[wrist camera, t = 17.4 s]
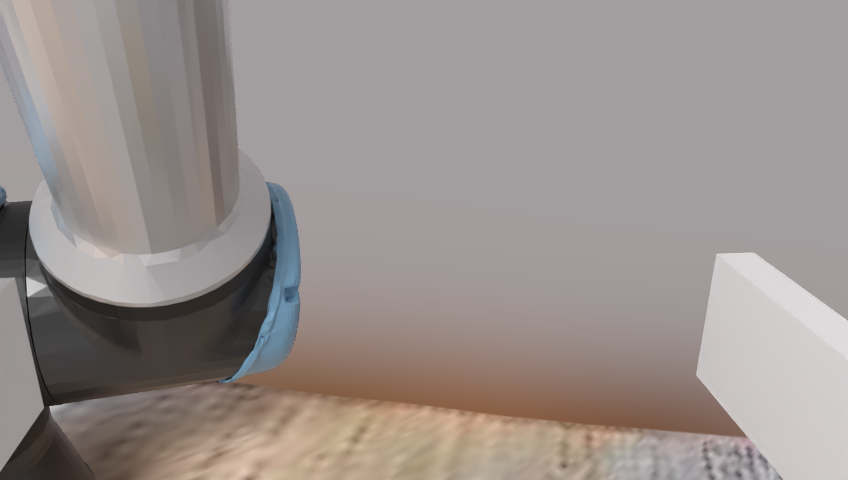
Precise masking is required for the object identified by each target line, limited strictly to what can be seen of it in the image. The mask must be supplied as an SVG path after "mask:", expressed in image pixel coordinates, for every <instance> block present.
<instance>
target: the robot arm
mask: <svg viewBox="0 0 848 480" xmlns="http://www.w3.org/2000/svg"><path fill="white" fill-rule="evenodd" d="M0 64H1V67H2V70H3V72H4V75H5V77H6V80H7V82H8V85H9V88H10V90H11V93H12V95H13V98H14V100H15V103H16V105H17V108H18V110H19V113H20V116H21V118H22V121H23V123H24V126H25V129H26V131H27V134H28V136H29V139H30V142H31V144H32V147H33V149H34V152H35V154H36V157H37V160H38V162H39V165H40V167H41V170H42V172H43V175H44V179H43V181H42V182H41V184H40V185H39V187H38V189H37V191H36V193H35V195H34V199H33V201H23V202H7V201H6V198H7V196H6V191H5V189H4V188H3V187H1V186H0V480H96V479H95V477H94V475H93V473H92V471H91V469H90V468H89V467H88V465H87V464H86V463H85V462H84V461H83V460H82V458H81V457H80V455H79V453H78V452H77V451H76V449H75V448H74V446H73V445H72V443H71V442H70V441H69V439H68V438H67V436H66V435H65V434H64V432H63V431H62V430H61V428H60V427H59V426H58V424H57V423H56V422H55V420H54V419H53V417H52V416H51V413H50V408H49V406H54V405H62V404H65V403H72V402H79V401H85V400H92V399H99V398H105V397H112V396H118V395H125V394H132V393H138V392H145V391H152V390H158V389H165V388H172V387H178V386H185V385H191V384H198V383H205V382H211V381H216V382H219V383H228V382H233V381H235V380H236V379H239V378H240V377H242V376H247V375H251V374H256V373H261V372H266V371H269V370H272V369H274V368H276V367H278V366H279V365H280V364H281V363H282V362H283V361H284V360H285V359H286V358H287V356H288V355H289V353H290V351H291V348H292V346H293V344H294V340H295V337H296V332H297V327H298V321H299V312H300V298H299V292H298V287H299V283H300V275H301V263H300V248H299V238H298V230H297V224H296V219H295V215H294V210H293V206H292V203H291V200H290V198H289V196H288V194H287V192H286V191H285V190H284V188H283V187H281V186H280V185H278V184H275V183H270V182H265V180H264V178H263V176H262V174H261V172H260V170H259V169H258V168H257V166H256V165H255V164H254V163H253V161H252V160H251V159H250V158H249V157H248V156H247V155H245V154H244V153H243V152H242V151H241V150H240V149H238V140H237V124H236V108H235V92H234V76H233V60H232V43H231V27H230V10H229V0H0ZM696 376H697V377H698V378H699V379H700V380H701V382H702V383H703V384H704V385H705V386H706V387H707V389H708V390H709V391H710V392H711V394H712V395H713V396H714V397H715V398H716V400H718V402H719V403H720V404H721V406H722V407H723V408H724V409H725V410H726V412H727V413H728V414H729V415H730V416H731V418H732V419H733V420H734V421H735V422H736V424H737V425H738V426H739V427H740V428H741V430H742V431H743V432H744V433H745V434H746V435H747V437H748V438H749V439H750V440H751V442H752V443H753V444H754V445H755V446H756V448H757V449H758V450H759V451H760V452H761V454H762V455H763V456H764V457H765V458H766V460H767V461H768V462H769V463H770V464H771V466H772V467H773V468H774V469H775V470H776V472H777V473H778V474H779V475H780V476H781V478H782V479H783V480H848V321H847V320H846V319H844V318H843V317H842V316H840V315H839V314H838V313H836V312H835V311H833V310H832V309H831V308H829V307H828V306H827V305H825V304H824V303H822V302H821V301H820V300H818V299H817V298H816V297H814V296H813V295H811V294H810V293H809V292H807V291H805V290H804V289H803V288H802V287H800V286H799V285H798V284H796V283H795V282H793V281H792V280H791V279H789V278H788V277H787V276H785V275H784V274H782V273H781V272H780V271H778V270H777V269H776V268H774V267H773V266H771V265H770V264H768V263H767V262H766V261H765V260H763V259H762V258H760V257H759V256H758V255H756V254H755V253H728V254H716V259H715V266H714V272H713V277H712V283H711V289H710V295H709V301H708V307H707V313H706V319H705V325H704V331H703V337H702V343H701V349H700V355H699V361H698V367H697V373H696Z"/></svg>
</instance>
